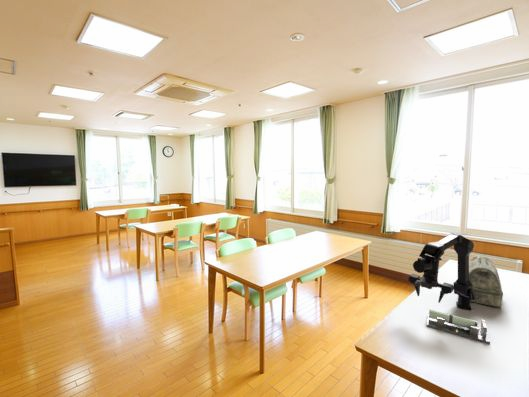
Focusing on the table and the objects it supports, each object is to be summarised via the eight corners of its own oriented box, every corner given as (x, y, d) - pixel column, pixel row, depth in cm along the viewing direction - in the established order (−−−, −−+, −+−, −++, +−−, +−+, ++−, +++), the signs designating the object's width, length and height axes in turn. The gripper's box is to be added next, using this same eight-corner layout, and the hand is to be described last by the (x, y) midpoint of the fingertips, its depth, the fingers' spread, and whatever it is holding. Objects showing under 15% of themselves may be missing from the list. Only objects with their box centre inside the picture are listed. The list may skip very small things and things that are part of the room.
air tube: (429, 315, 139) (429, 307, 138) (473, 326, 129) (474, 318, 128) (428, 319, 136) (429, 311, 135) (473, 331, 126) (474, 323, 125)
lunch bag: (462, 284, 179) (465, 252, 176) (498, 292, 168) (502, 258, 165) (460, 300, 158) (464, 264, 155) (502, 310, 147) (506, 272, 144)
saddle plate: (428, 314, 143) (428, 304, 142) (486, 330, 129) (487, 318, 129) (426, 326, 133) (427, 314, 132) (489, 344, 120) (491, 331, 119)
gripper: (405, 268, 135) (402, 297, 137) (449, 279, 122) (446, 312, 124) (413, 262, 143) (410, 291, 145) (455, 273, 130) (452, 304, 131)
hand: (428, 299), depth 136 cm, fingers open, 9 cm apart
